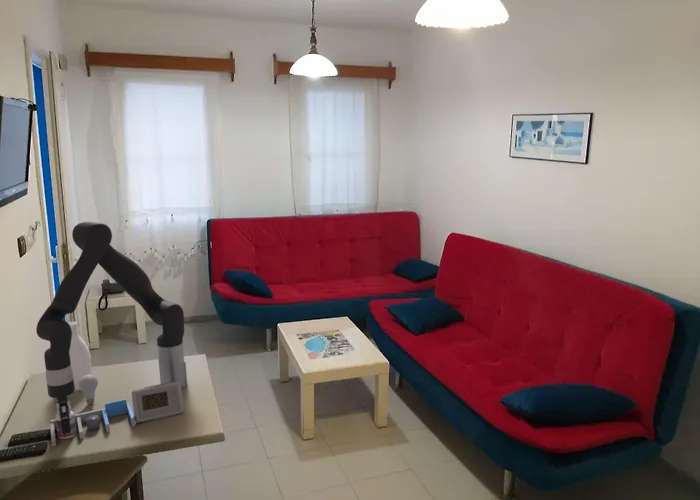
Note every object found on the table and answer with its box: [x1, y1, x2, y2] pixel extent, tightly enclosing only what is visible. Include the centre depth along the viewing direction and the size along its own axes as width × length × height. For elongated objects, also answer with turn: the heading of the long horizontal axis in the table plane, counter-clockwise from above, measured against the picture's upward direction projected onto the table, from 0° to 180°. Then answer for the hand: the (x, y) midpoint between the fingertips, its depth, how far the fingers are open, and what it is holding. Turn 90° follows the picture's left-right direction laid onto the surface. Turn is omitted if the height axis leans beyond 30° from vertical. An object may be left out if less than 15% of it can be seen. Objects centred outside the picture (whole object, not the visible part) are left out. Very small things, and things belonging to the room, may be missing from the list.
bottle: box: [66, 321, 93, 392], centre depth 208 cm, size 11×11×25 cm
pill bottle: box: [55, 405, 77, 440], centre depth 175 cm, size 5×5×10 cm
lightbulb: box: [79, 374, 99, 405], centre depth 196 cm, size 6×6×11 cm
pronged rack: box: [49, 398, 136, 447], centre depth 180 cm, size 24×12×5 cm, turn 120°
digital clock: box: [131, 382, 185, 424], centre depth 187 cm, size 16×9×11 cm, turn 105°
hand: (66, 427), depth 176 cm, fingers open, 6 cm apart
